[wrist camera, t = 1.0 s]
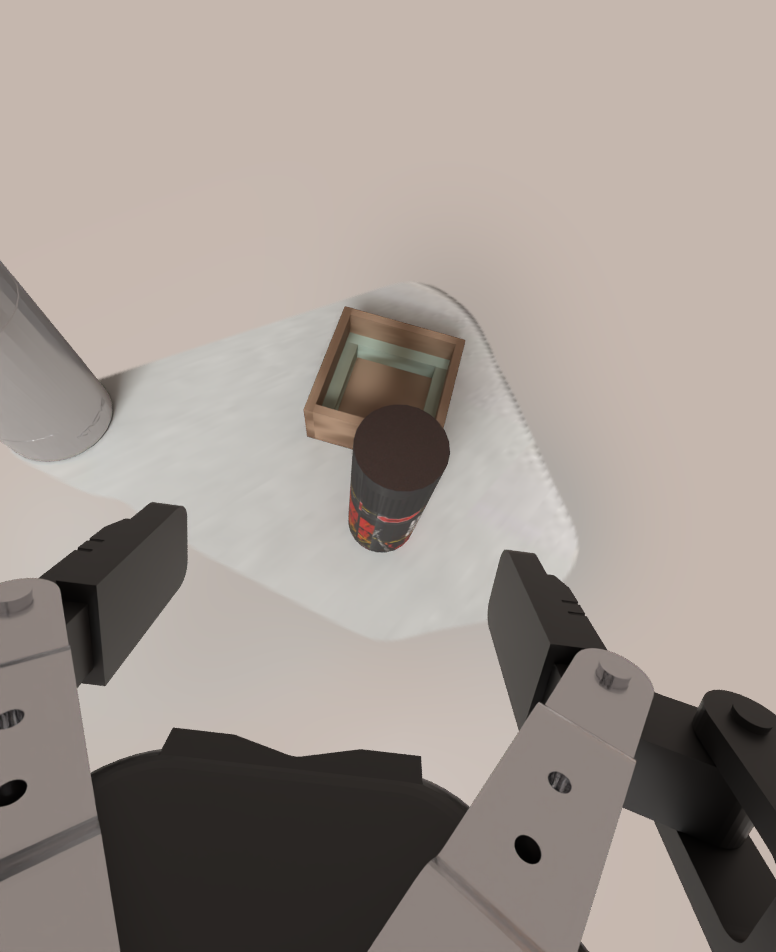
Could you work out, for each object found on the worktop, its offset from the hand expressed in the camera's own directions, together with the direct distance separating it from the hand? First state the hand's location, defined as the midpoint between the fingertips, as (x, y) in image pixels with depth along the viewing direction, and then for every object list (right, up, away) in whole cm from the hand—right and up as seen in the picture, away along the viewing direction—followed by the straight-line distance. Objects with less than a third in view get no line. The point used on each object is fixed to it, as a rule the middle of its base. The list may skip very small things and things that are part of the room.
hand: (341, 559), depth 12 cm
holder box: (+1, +10, +35) cm, 37 cm away
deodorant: (+1, -2, +31) cm, 31 cm away
